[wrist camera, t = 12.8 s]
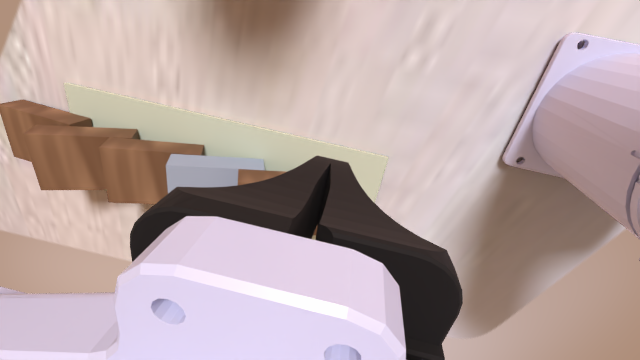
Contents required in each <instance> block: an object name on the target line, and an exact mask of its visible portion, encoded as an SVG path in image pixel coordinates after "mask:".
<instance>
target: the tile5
mask: <svg viewBox="0 0 640 360" xmlns="http://www.w3.org/2000/svg"><path fill="white" fill-rule="evenodd" d="M0 114H1V117H2V120H3V123H4V126H5V129H6V133H7V136H8V139H9V142H10V145H11V148H12V151H13V155H14V157H18V158H21V159H24V160H27V161H31V158H30V154H29V151H28V148H27V145H26V142H25V139H24V136H23V134H24V133H25V132H26V131H28V130H29V129H31V128H32V127H34V126H35V125H55V126H78V127H92V122H91V118H88V117H84V116H80V115H77V114H73V113H69V112H66V111H62V110H59V109H55V108H51V107H48V106H44V105H41V104H37V103H33V102H30V101H26V100H18V101H13V102H7V103H2V104H0ZM31 162H32V161H31Z"/></svg>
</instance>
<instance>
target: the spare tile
mask: <svg viewBox="0 0 640 360" xmlns="http://www.w3.org/2000/svg"><path fill="white" fill-rule="evenodd" d="M238 169H248V170H265V168H264V161H263V159H255V158H237V157H219V156H201V155H183V154H171V155H170V157H169V160H168V162H167V164H166V175H167V187H168V193H170V192H171V191H172V190H173V189H175V188H176V187H227V186H237V185H238Z"/></svg>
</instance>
